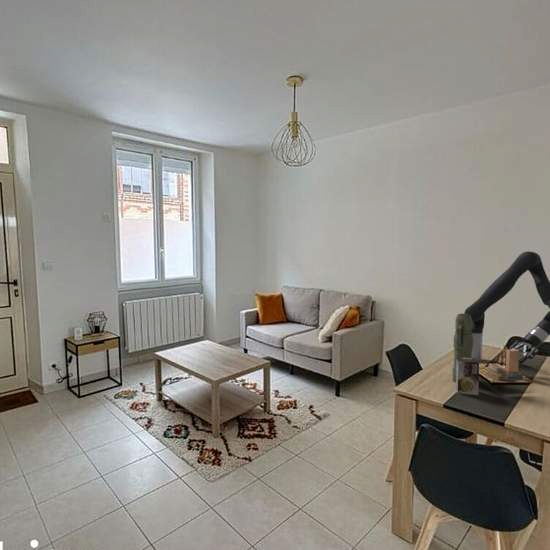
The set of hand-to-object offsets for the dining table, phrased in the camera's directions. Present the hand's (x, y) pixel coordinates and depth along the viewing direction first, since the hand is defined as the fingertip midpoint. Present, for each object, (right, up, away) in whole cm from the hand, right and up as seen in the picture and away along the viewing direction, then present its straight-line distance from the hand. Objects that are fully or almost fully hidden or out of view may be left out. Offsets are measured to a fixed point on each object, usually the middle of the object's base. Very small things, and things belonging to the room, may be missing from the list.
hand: (513, 359), depth 189 cm
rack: (-3, -10, +1) cm, 11 cm away
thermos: (-27, -11, -1) cm, 29 cm away
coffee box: (-32, -12, -14) cm, 37 cm away
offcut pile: (-8, -9, 0) cm, 12 cm away
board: (0, -9, +1) cm, 9 cm away
